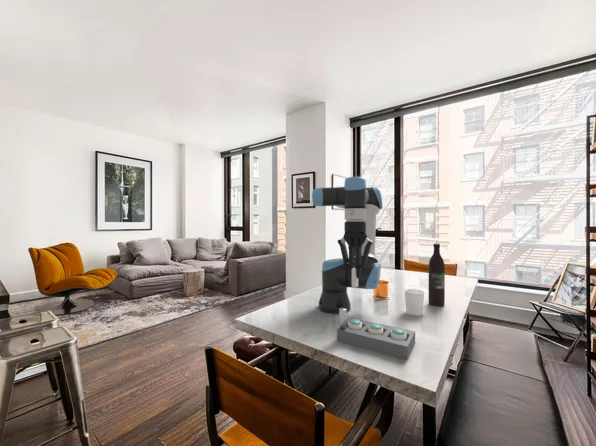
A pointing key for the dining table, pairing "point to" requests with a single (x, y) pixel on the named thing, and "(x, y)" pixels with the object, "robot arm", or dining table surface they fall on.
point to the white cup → (414, 302)
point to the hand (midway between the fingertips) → (355, 286)
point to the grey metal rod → (342, 318)
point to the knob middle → (376, 329)
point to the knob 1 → (355, 324)
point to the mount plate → (378, 339)
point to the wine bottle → (436, 278)
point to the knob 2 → (398, 334)
